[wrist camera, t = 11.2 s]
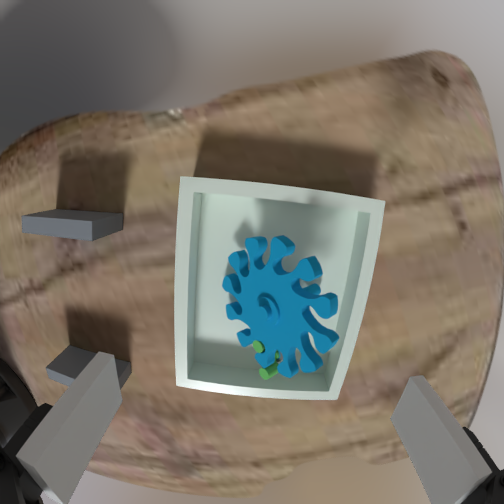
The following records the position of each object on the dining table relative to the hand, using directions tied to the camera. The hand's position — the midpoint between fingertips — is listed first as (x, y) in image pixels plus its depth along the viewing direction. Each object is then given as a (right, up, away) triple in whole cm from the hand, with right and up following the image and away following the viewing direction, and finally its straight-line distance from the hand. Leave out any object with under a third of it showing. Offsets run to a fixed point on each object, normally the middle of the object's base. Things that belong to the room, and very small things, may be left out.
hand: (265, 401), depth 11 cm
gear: (+1, +3, +12) cm, 13 cm away
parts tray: (+1, +3, +13) cm, 13 cm away
